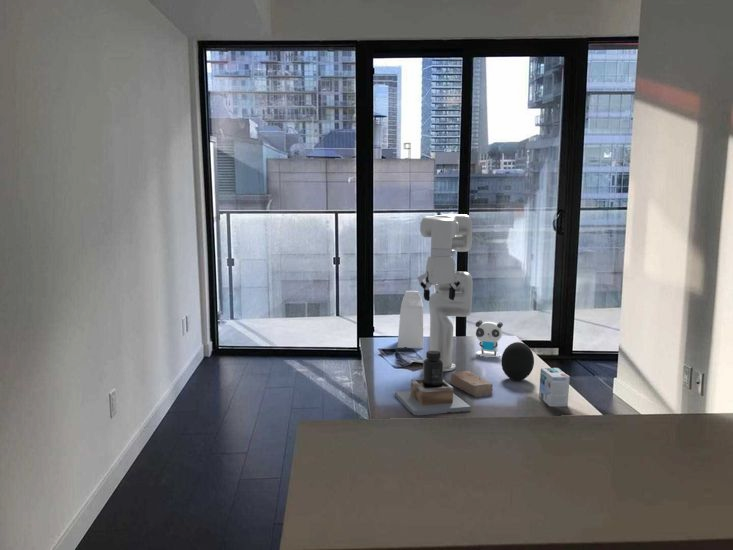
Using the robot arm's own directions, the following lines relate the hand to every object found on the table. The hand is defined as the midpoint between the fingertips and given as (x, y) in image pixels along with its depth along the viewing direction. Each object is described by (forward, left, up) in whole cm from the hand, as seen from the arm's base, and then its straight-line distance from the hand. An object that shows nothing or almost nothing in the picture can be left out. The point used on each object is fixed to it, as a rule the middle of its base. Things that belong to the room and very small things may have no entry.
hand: (439, 299), depth 219 cm
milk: (-62, +13, -34) cm, 72 cm away
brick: (+4, +13, -34) cm, 36 cm away
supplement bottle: (+15, -8, -28) cm, 32 cm away
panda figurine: (-39, +42, -34) cm, 66 cm away
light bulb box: (+23, +35, -34) cm, 54 cm away
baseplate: (+15, -8, -33) cm, 37 cm away
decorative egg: (-2, +35, -34) cm, 48 cm away
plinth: (+15, -8, -32) cm, 36 cm away
